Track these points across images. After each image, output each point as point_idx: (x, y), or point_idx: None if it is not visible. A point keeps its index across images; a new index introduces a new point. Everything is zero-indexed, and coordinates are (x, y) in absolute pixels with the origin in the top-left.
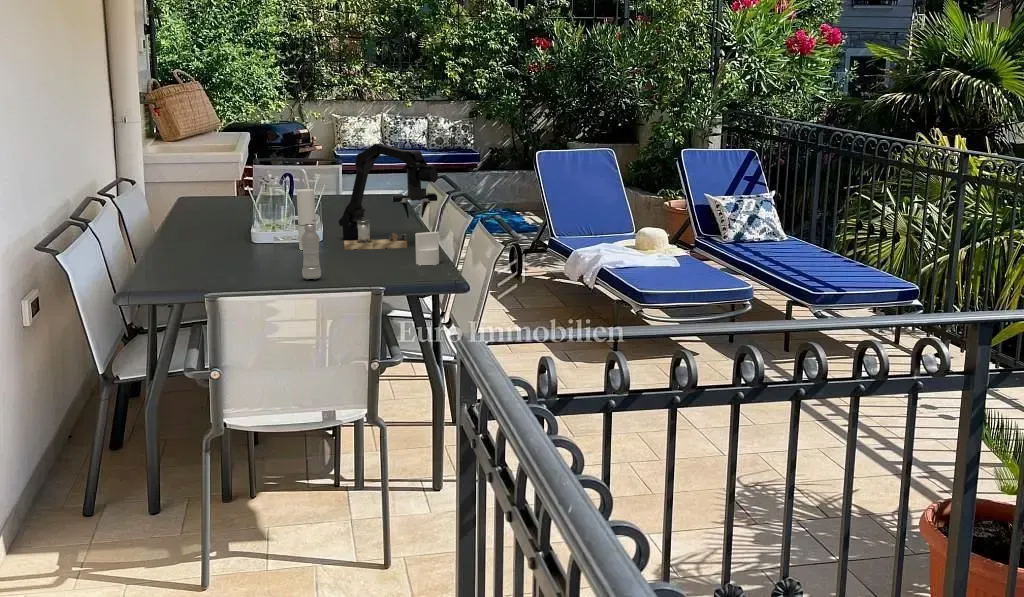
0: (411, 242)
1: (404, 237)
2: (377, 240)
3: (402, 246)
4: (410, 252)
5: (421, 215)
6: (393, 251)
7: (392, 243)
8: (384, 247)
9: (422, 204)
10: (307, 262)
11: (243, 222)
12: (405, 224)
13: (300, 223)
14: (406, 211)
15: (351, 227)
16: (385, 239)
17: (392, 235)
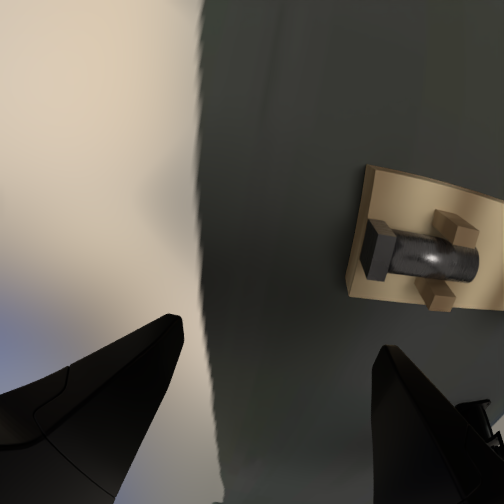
0: (294, 325)
1: (387, 227)
2: (496, 287)
3: (397, 171)
4: (367, 11)
5: (174, 358)
6: (458, 84)
7: (461, 189)
8: (485, 195)
9: (79, 492)
10: None
11: None
12: (246, 491)
13: None
14: (448, 417)
15: (480, 436)
16: (456, 305)
17: (465, 257)
